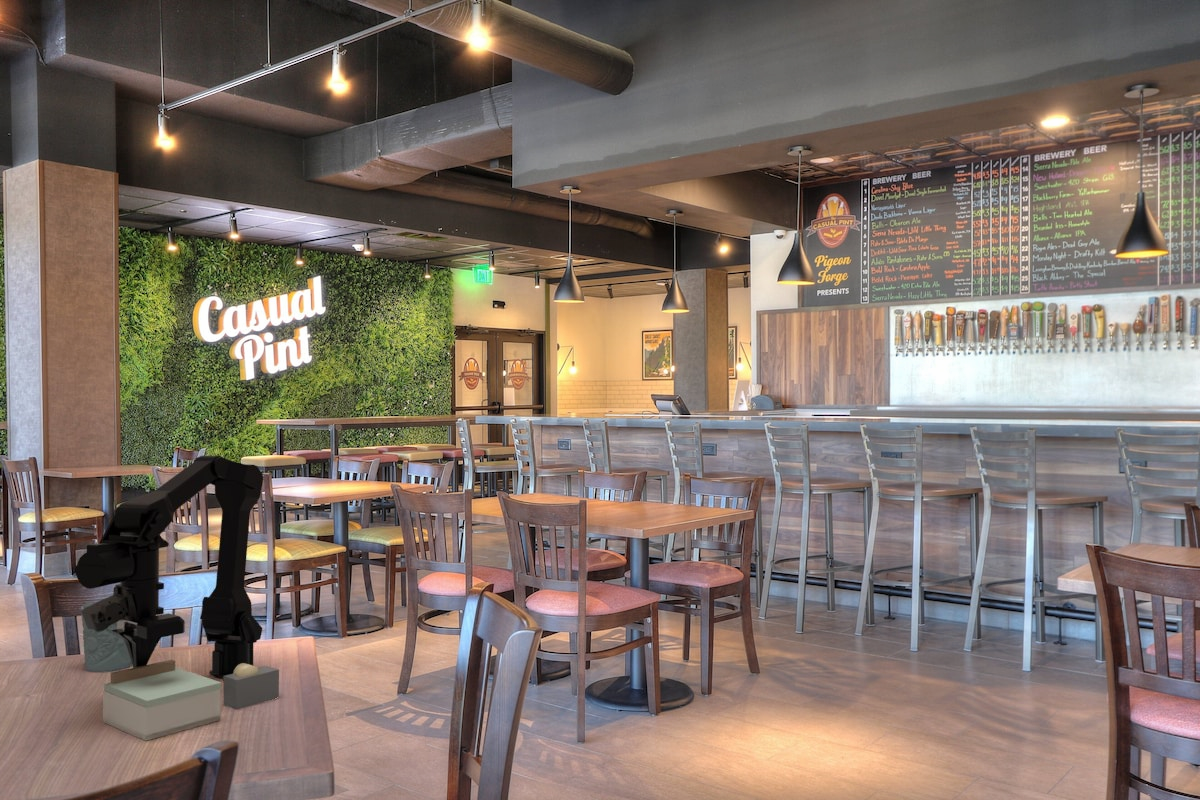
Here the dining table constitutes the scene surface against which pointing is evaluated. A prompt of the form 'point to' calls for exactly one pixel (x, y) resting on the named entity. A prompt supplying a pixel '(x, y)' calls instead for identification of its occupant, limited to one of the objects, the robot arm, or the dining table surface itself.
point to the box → (160, 714)
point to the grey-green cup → (104, 649)
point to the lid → (158, 684)
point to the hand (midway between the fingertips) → (139, 672)
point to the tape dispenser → (250, 686)
